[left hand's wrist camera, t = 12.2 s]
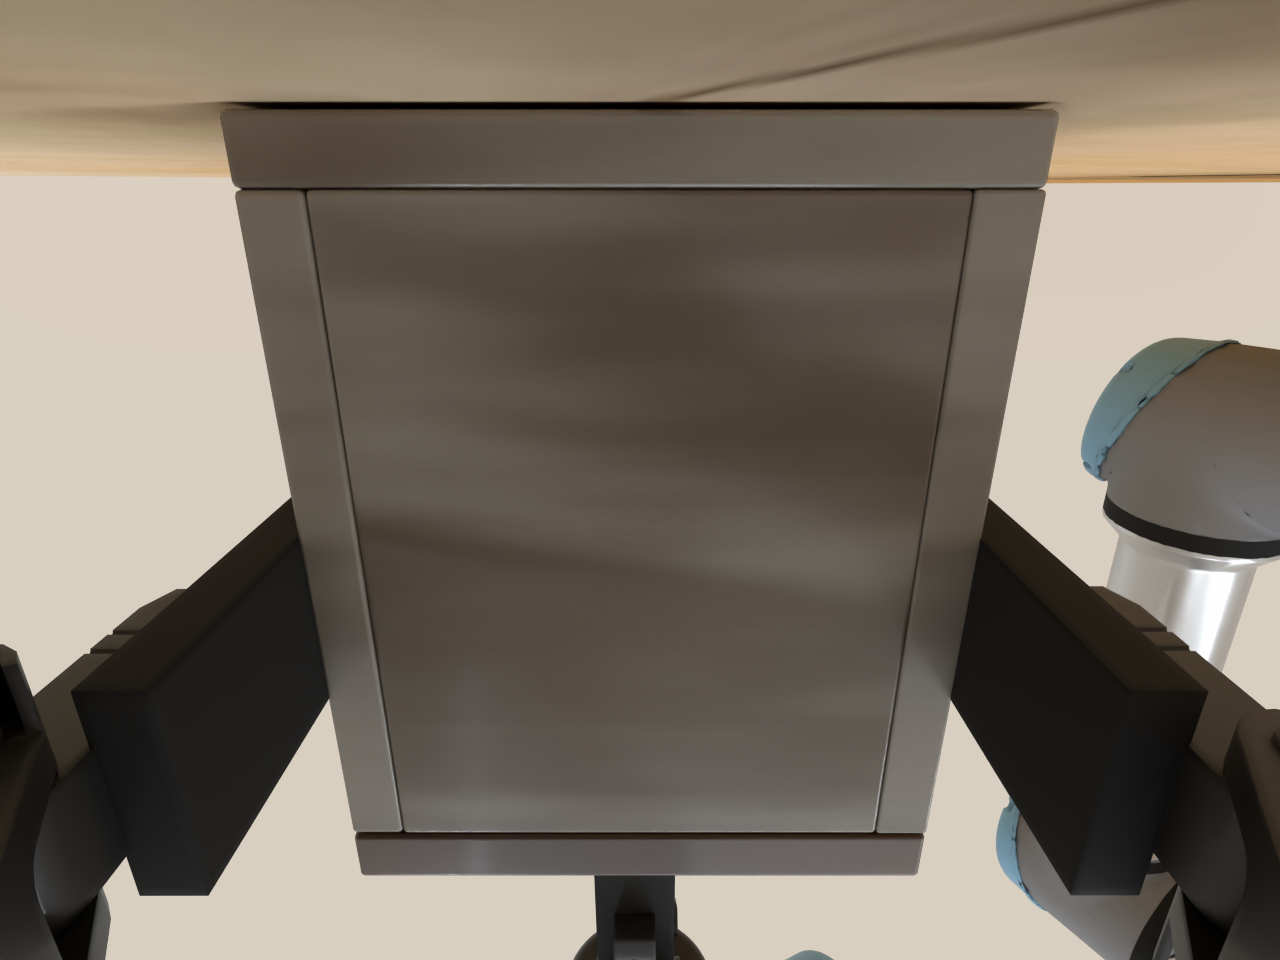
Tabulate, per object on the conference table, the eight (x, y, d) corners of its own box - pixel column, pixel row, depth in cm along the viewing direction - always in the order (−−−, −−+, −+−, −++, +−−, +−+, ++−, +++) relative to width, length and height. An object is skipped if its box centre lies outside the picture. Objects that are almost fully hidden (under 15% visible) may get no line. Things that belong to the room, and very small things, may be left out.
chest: (782, 163, 24) (762, 466, 28) (496, 163, 24) (516, 466, 28) (1064, 108, 8) (926, 834, 12) (214, 108, 8) (352, 833, 12)
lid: (759, 460, 29) (748, 638, 32) (519, 460, 29) (531, 639, 32) (926, 836, 12) (868, 1140, 15) (352, 836, 12) (409, 1140, 15)
